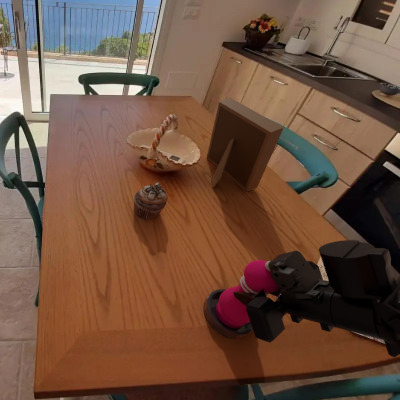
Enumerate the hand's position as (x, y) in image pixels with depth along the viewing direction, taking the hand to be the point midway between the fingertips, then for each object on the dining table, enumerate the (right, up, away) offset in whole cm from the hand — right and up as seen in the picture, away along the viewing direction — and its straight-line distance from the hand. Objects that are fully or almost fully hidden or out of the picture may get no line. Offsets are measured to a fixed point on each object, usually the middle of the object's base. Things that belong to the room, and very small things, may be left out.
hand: (241, 288), depth 55 cm
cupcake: (-12, +15, +30) cm, 36 cm away
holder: (0, -8, +6) cm, 10 cm away
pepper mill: (+1, -8, +6) cm, 10 cm away
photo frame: (+19, +27, +46) cm, 57 cm away
